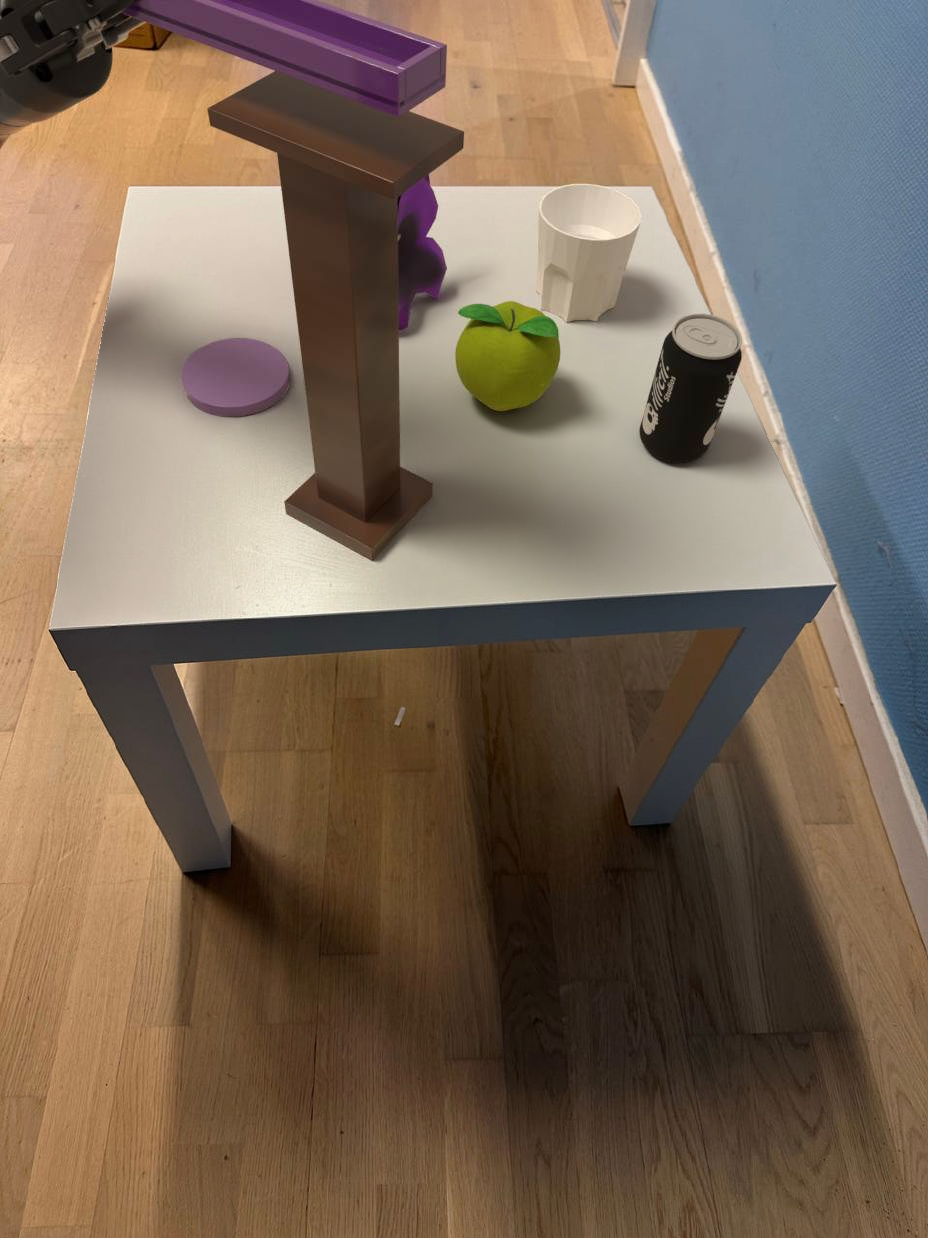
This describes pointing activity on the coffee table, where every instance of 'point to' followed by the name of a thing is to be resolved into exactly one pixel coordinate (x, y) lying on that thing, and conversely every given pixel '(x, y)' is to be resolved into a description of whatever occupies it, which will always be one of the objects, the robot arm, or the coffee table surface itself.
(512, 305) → the fruit
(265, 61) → the purple dish
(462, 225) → the coffee table surface
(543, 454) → the coffee table surface
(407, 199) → the flower
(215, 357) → the lilac plate
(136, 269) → the coffee table surface
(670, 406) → the beverage can
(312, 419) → the brown wooden pedestal
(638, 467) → the coffee table surface
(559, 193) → the cup
